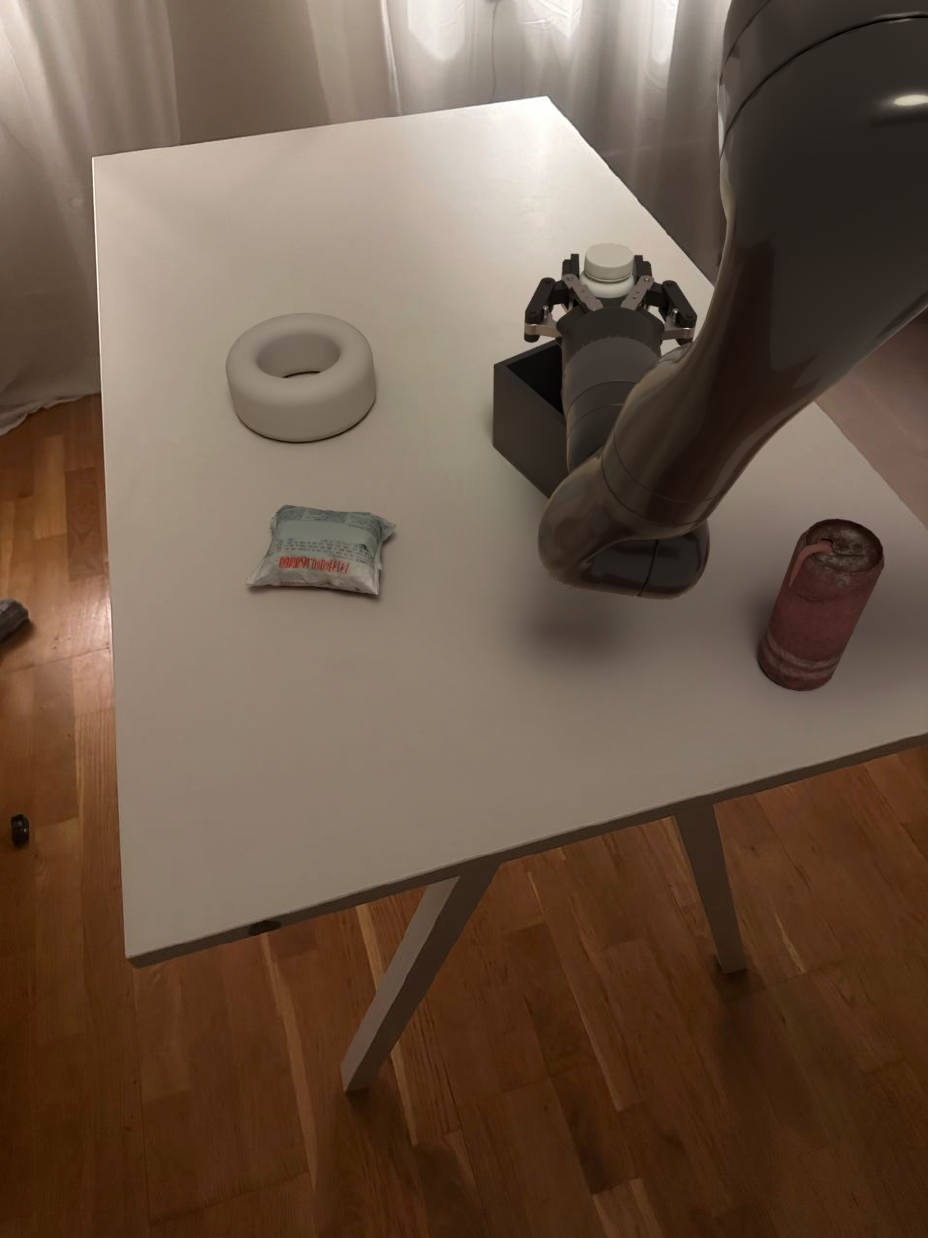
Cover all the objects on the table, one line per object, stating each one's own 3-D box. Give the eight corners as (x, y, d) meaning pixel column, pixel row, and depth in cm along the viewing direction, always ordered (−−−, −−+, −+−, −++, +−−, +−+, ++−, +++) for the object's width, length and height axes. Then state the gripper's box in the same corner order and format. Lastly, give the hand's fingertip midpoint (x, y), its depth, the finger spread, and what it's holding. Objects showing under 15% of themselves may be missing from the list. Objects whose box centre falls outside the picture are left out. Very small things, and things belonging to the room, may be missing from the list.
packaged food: (380, 611, 83) (375, 572, 79) (248, 599, 84) (237, 560, 80) (398, 541, 88) (395, 501, 85) (274, 530, 89) (265, 490, 86)
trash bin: (598, 398, 101) (607, 316, 94) (685, 469, 94) (702, 386, 86) (492, 446, 97) (493, 364, 89) (575, 524, 89) (583, 442, 82)
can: (739, 647, 80) (780, 527, 69) (805, 626, 81) (855, 505, 70) (780, 703, 76) (829, 586, 65) (848, 680, 77) (907, 561, 67)
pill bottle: (632, 355, 84) (645, 266, 77) (579, 360, 83) (587, 271, 77) (618, 325, 87) (630, 237, 80) (567, 329, 86) (575, 241, 80)
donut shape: (207, 424, 99) (192, 370, 94) (283, 346, 108) (273, 293, 103) (332, 462, 95) (323, 408, 90) (401, 379, 104) (397, 325, 99)
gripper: (719, 341, 68) (696, 223, 79) (518, 336, 69) (523, 220, 80) (701, 426, 74) (682, 304, 85) (515, 421, 74) (520, 301, 85)
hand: (605, 264), depth 82 cm, fingers closed on pill bottle, 4 cm apart
